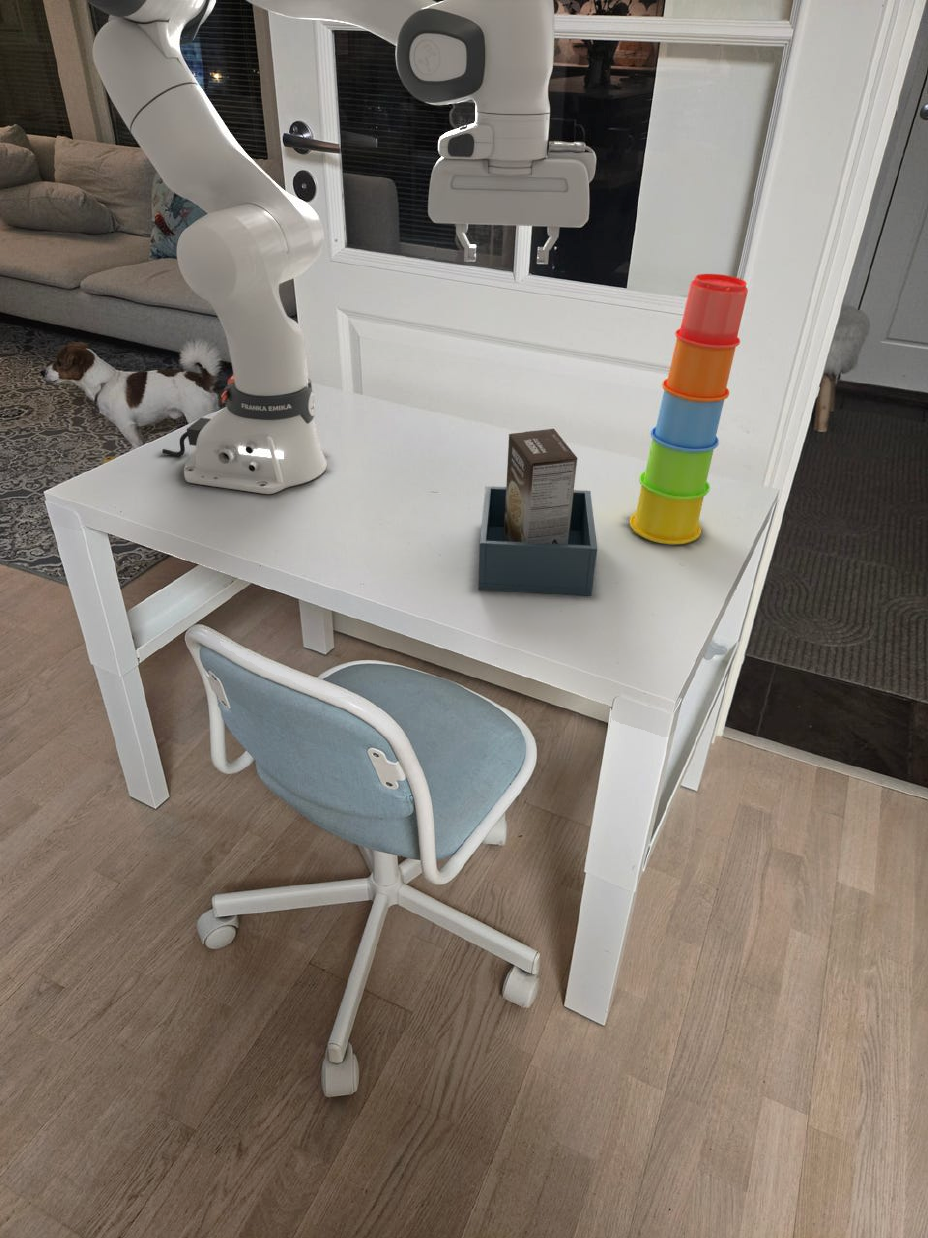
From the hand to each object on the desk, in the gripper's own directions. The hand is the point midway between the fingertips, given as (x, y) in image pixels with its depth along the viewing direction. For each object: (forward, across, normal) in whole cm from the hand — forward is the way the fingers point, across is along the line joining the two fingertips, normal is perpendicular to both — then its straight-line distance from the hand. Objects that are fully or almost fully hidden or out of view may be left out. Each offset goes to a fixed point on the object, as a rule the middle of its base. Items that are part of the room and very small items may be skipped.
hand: (506, 261), depth 107 cm
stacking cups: (+34, -25, +8) cm, 43 cm away
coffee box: (+33, -6, +18) cm, 38 cm away
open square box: (+34, -6, +18) cm, 39 cm away
